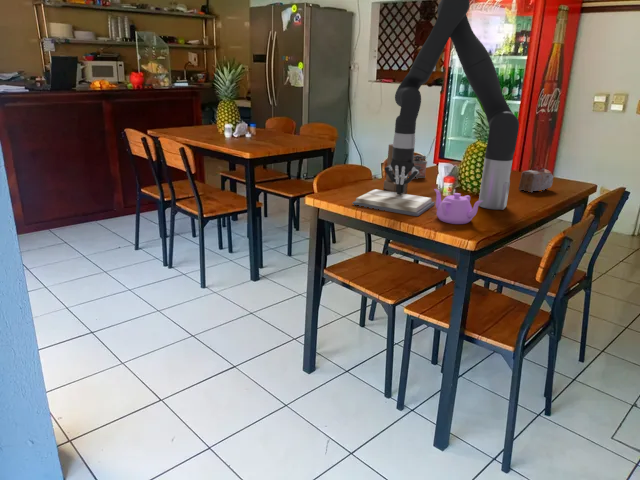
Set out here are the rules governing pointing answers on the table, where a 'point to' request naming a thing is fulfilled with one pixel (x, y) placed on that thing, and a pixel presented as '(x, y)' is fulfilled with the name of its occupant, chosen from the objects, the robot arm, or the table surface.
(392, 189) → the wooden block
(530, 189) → the food item
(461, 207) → the teapot
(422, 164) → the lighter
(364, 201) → the white flat slab
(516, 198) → the table surface
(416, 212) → the underlay mat
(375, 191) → the loose plank
